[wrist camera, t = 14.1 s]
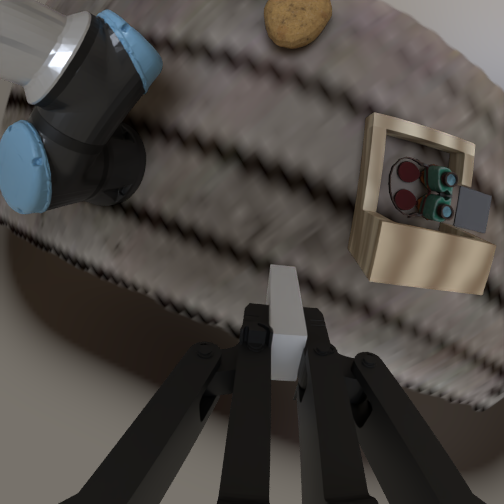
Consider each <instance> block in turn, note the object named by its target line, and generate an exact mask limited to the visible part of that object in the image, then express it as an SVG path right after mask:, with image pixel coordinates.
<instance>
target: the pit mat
mask: <svg viewBox="0 0 504 504" xmlns="http://www.w3.org/2000/svg"><path fill="white" fill-rule="evenodd" d="M491 197H492V196H489V195H486V194H484V193H481V192H478V191H475V190H472V189H469V188H465V187H462V186H460V190H459V197H458V203H457V209H456V214H455V220H454V226H457V227H462V228H466V229H470V230H474V231H478V232H482V233H485V231H486V226H487V221H488V215H489V210H490V203H491Z"/></svg>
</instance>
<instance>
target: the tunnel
mask: <svg viewBox="0 0 504 504" xmlns="http://www.w3.org/2000/svg"><path fill="white" fill-rule="evenodd" d="M386 135H388V136H392V137H396V138H400V139H404V140H407V141H411V142H415V143H418V144H422V145H425V146H428V147H432V148H435V149H438V150H441V151H444V152H447V153H450V160H449V169H450V170H451V172H455V173H456V174H457V175H458V179H459V180H458V184H457V185H461V186H467V187H471V183H472V175H473V165H474V154H475V144H473V143H471V142H468V141H466V140H463V139H461V138H458V137H455V136H452V135H450V134H447V133H444V132H441V131H438V130H435V129H432V128H429V127H426V126H423V125H419V124H416V123H413V122H409V121H406V120H402V119H399V118H395V117H391V116H387V115H383V114H379V113H375V112H374V113H373V114H371V115H370V116H368V117H367V118H366V120H365V131H364V141H363V151H362V160H361V168H360V175H359V183H358V190H357V197H356V203H355V210H354V216H353V222H352V227H351V233H350V238H349V244H348V250H349V251H350V253H351V254H352V256H353V257H354V259H355V260H356V262H357V263H358V265H359V266H360V268H361V269H362V271H363V272H364V274H365V275H366V277H367V278H368V280H369V281H371V282H379V283H386V284H394V285H402V286H410V287H418V288H427V289H435V290H443V291H452V292H460V293H469V294H478V295H482V294H483V291H484V288H485V284H486V281H487V278H488V275H489V271H490V268H491V264H492V260H493V257H494V253H495V249H496V245H494V244H492V243H490V242H488V241H486V240H483V239H481V238H479V237H477V236H475V235H472V234H470V233H468V232H466V231H463V230H461V229H459V228H456V227H454V226H452V225H449V224H445V223H441V222H440V226H439V231H436V230H431V229H426V228H421V227H416V226H411V225H406V224H401V223H396V222H393V221H392V220H390V219H388V218H386V217H384V216H382V215H380V214H379V213H377V212H376V209H377V203H378V196H379V190H380V183H381V176H382V168H383V159H384V150H385V140H386Z"/></svg>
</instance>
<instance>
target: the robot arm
mask: <svg viewBox="0 0 504 504" xmlns="http://www.w3.org/2000/svg"><path fill="white" fill-rule="evenodd" d="M162 65H163V63H162V59H161V57H160V55H159V54H158V52H157V51H156V50H155V49H154V48H153V47H152V45H151V44H150V43H149V42H148V41H147V40H146V39H145V38H144V37H143V36H142V35H141V34H140V33H139V32H137V31H136V30H135V29H134V28H133V27H131V26H130V25H129V24H128V23H127V22H125V20H124V19H122V18H121V17H120V16H118V15H117V14H116V13H114V12H112V11H110V10H104V11H102V12H101V13H98V15H97V16H94V15H92V14H91V13H89V12H87V11H82V12H79V13H76V14H72V15H69V16H66V15H64V14H62V13H60V12H58V11H56V10H54V9H52V8H50V7H48V6H46V5H44V4H42V3H40V2H38V1H35V0H0V79H3V80H6V81H9V82H12V83H15V84H18V85H21V86H23V88H24V91H25V94H26V98H27V101H28V103H30V104H32V105H35V107H34V109H33V111H32V113H31V115H30V117H29V118H28V120H27V121H26V120H20V121H18V122H15V123H14V124H13V125H11V126H9V127H8V128H7V130H6V131H5V133H4V135H3V136H2V139H1V141H0V189H1V192H2V195H3V197H4V199H5V200H6V202H7V204H8V205H9V206H10V207H11V208H12V209H13V210H14V211H16V212H18V213H21V214H30V213H36V212H37V213H43V212H45V211H47V210H51V209H54V208H58V207H62V206H65V205H69V204H73V203H77V202H81V201H86V202H89V203H92V204H95V205H99V206H109V205H114V204H118V203H121V202H123V201H125V200H126V199H128V198H129V197H130V196H131V195H132V194H133V193H134V192H135V191H136V189H137V188H138V186H139V184H140V183H141V180H142V178H143V175H144V171H145V164H146V155H145V149H144V145H143V142H142V140H141V138H140V136H139V134H138V133H137V132H136V131H135V130H134V129H133V128H132V127H131V126H129V125H127V124H125V123H122V121H123V119H124V118H125V117H126V115H127V114H128V113H129V111H130V110H131V109H132V108H133V106H134V105H135V104H136V103H137V101H138V100H139V99H140V98H141V96H142V95H143V94H146V93H147V91H148V88H149V86H150V85H151V84H152V83H153V81H154V80H155V79H156V78H157V76H158V75H159V74H160V72H161V70H162ZM297 375H298V380H299V381H298V385H297V388H296V391H295V395H294V399H293V400H296V397H297V406H298V422H299V440H300V459H301V483H302V504H378V501H377V500H376V499H375V498H374V497H372V496H370V495H369V494H368V490H367V484H366V479H365V473H364V468H363V463H362V457H361V452H360V448H359V444H360V446H361V448H362V450H363V452H364V454H365V456H366V458H367V460H368V462H369V464H370V466H371V468H372V470H373V472H374V474H375V476H376V478H377V480H378V482H379V484H380V486H381V488H382V490H383V492H384V494H385V495H386V498H387V500H388V502H389V504H486V503H485V502H483V501H482V500H481V499H479V498H478V497H477V496H475V495H474V494H473V493H472V492H471V490H470V488H469V487H468V485H467V484H466V482H465V480H464V479H463V477H462V476H461V475H460V473H459V471H458V469H457V468H456V466H455V465H454V463H453V462H452V460H451V459H450V457H449V456H448V454H447V453H446V451H445V450H444V448H443V447H442V445H441V444H440V442H439V441H438V439H437V438H436V436H435V435H434V433H433V432H432V430H431V429H430V427H429V426H428V425H427V423H426V421H425V420H424V419H423V417H422V416H421V414H420V413H419V411H418V410H417V409H416V407H415V406H414V404H413V403H412V401H411V400H410V399H409V397H408V396H407V394H406V393H405V392H404V390H403V389H402V387H401V386H400V385H399V383H398V382H397V380H396V379H395V378H394V376H393V375H392V373H391V372H390V371H389V369H388V368H387V367H386V365H385V364H384V362H383V361H382V360H381V359H380V358H379V357H378V356H377V355H375V354H373V353H369V352H361V353H359V354H357V355H356V356H355V358H350V357H346V356H343V355H340V354H339V353H338V352H337V350H336V348H335V347H334V346H333V345H332V344H330V341H329V337H328V333H327V329H326V325H325V322H324V317H323V314H322V313H321V312H320V311H319V310H318V308H306V307H303V306H302V300H301V294H300V289H299V283H298V277H297V272H296V267H293V266H283V265H273V264H270V273H269V281H268V289H267V297H266V305H263V304H252V303H249V305H248V306H247V307H246V308H245V311H244V319H243V325H242V327H241V330H240V342H239V343H238V344H237V345H236V346H234V347H232V348H228V349H220V348H219V347H218V346H217V345H216V344H213V343H211V342H199V343H196V344H194V345H192V346H191V347H190V349H189V350H188V351H187V353H186V354H185V355H184V356H183V358H182V359H181V360H180V362H179V363H178V364H177V366H176V367H175V368H174V369H173V371H172V372H171V373H170V375H169V376H168V377H167V379H166V380H165V381H164V383H163V384H162V385H161V387H160V388H159V389H158V391H157V392H156V393H155V394H154V396H153V397H152V398H151V400H150V401H149V402H148V404H147V405H146V406H145V408H144V409H143V410H142V411H141V413H140V414H139V415H138V417H137V418H136V419H135V421H134V422H133V423H132V424H131V426H130V427H129V428H128V430H127V431H126V432H125V434H124V435H123V436H122V438H121V439H120V440H119V441H118V443H117V444H116V445H115V447H114V448H113V449H112V450H111V452H110V453H109V454H108V456H107V457H106V458H105V459H104V461H103V462H102V463H101V465H100V466H99V467H98V469H97V470H96V471H95V472H94V474H93V475H92V476H91V477H90V479H89V480H88V481H87V483H86V484H85V485H84V486H83V488H82V489H81V490H80V492H79V493H78V494H76V495H74V496H72V497H70V498H68V499H66V500H65V501H63V502H61V503H59V504H159V503H160V502H161V500H162V498H163V497H164V495H165V493H166V491H167V490H168V488H169V486H170V485H171V483H172V481H173V480H174V478H175V476H176V474H177V473H178V471H179V469H180V468H181V466H182V464H183V462H184V461H185V459H186V457H187V456H188V454H189V452H190V450H191V448H192V447H193V445H194V443H195V441H196V440H197V438H198V436H199V434H200V432H201V431H202V429H203V427H204V425H205V423H206V421H207V420H208V418H209V416H210V414H211V412H212V410H213V409H214V406H215V405H216V403H217V401H218V399H219V397H220V395H224V394H231V393H233V396H232V402H231V409H230V417H229V424H228V431H227V439H226V446H225V453H224V461H223V468H222V475H221V483H220V490H219V497H218V501H217V504H270V503H269V477H270V429H271V380H285V381H296V379H297Z"/></svg>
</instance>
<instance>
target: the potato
mask: <svg viewBox="0 0 504 504" xmlns="http://www.w3.org/2000/svg"><path fill="white" fill-rule="evenodd" d="M331 16H332V6H331V2H330V0H269V1H268V2H267V3H266V6H265V8H264V18H265V26H266V30H267V33H268V36H269V37H270V38H271V39H272V40H273V41H274V43H275V44H276V45H278V46H280V47H284V48H289V49H295V48H298V47H302V46H306V45H307V44H309V43H311V42H312V41H314V40H315V39H316V38H317V37H318V35H319V34H320V33H321V32H322V30H323V29H324V27H325V26H326V24H327V22H328V21H329V19H330V18H331Z"/></svg>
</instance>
